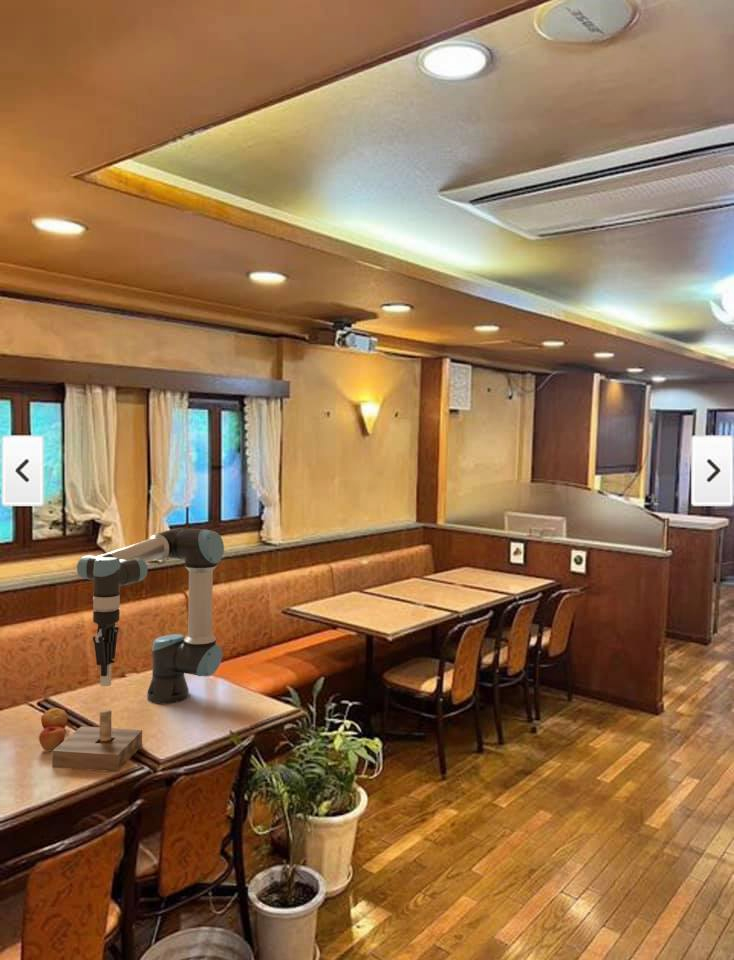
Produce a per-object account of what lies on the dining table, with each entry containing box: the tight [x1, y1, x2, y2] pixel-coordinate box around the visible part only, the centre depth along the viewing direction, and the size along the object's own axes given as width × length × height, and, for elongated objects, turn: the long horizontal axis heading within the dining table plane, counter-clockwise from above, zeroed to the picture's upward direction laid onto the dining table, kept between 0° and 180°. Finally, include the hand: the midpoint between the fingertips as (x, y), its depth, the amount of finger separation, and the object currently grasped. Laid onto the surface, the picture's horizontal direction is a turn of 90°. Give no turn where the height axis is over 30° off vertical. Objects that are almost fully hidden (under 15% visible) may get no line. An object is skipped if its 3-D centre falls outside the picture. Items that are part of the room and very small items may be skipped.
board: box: [51, 725, 143, 773], centre depth 215 cm, size 18×20×5 cm
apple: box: [38, 725, 66, 752], centre depth 219 cm, size 7×7×8 cm
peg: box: [99, 709, 113, 744], centre depth 215 cm, size 4×4×14 cm
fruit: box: [40, 707, 69, 730], centre depth 233 cm, size 8×8×8 cm
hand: (105, 685), depth 214 cm, fingers closed
